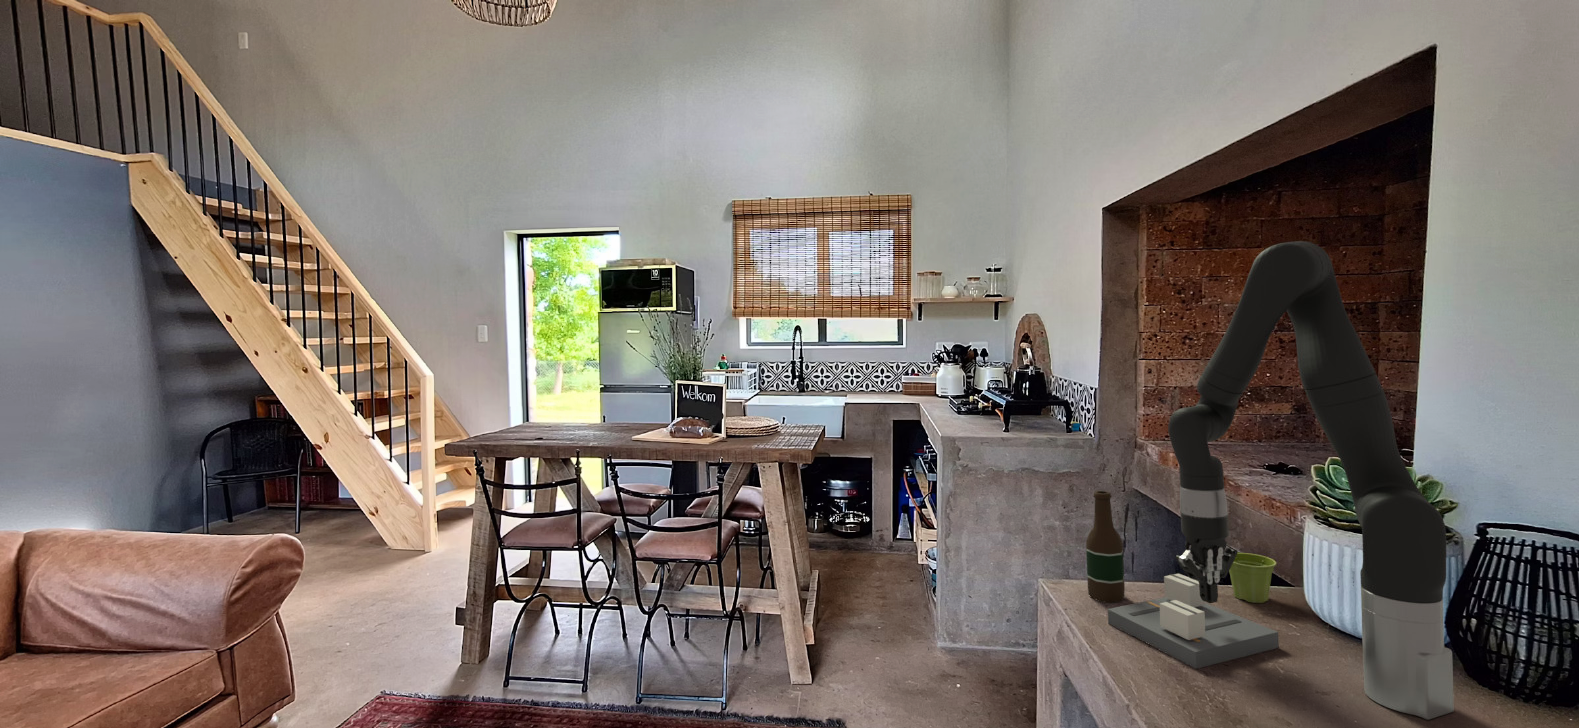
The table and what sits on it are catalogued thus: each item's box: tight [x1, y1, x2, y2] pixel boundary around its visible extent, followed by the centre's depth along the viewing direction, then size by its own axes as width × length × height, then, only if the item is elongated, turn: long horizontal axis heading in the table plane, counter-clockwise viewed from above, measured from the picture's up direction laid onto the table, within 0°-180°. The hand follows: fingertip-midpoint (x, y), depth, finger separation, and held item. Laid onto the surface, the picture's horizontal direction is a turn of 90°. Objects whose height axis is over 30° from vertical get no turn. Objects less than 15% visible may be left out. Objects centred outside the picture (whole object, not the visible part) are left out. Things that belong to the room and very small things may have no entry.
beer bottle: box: [1085, 490, 1126, 603], centre depth 144 cm, size 8×8×24 cm
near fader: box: [1160, 600, 1205, 640], centre depth 118 cm, size 6×4×5 cm, turn 17°
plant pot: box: [1228, 552, 1277, 604], centre depth 139 cm, size 9×9×9 cm
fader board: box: [1107, 596, 1280, 670], centre depth 124 cm, size 20×20×3 cm
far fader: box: [1163, 573, 1206, 607], centre depth 131 cm, size 6×4×5 cm, turn 17°
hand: (1209, 601), depth 120 cm, fingers closed
